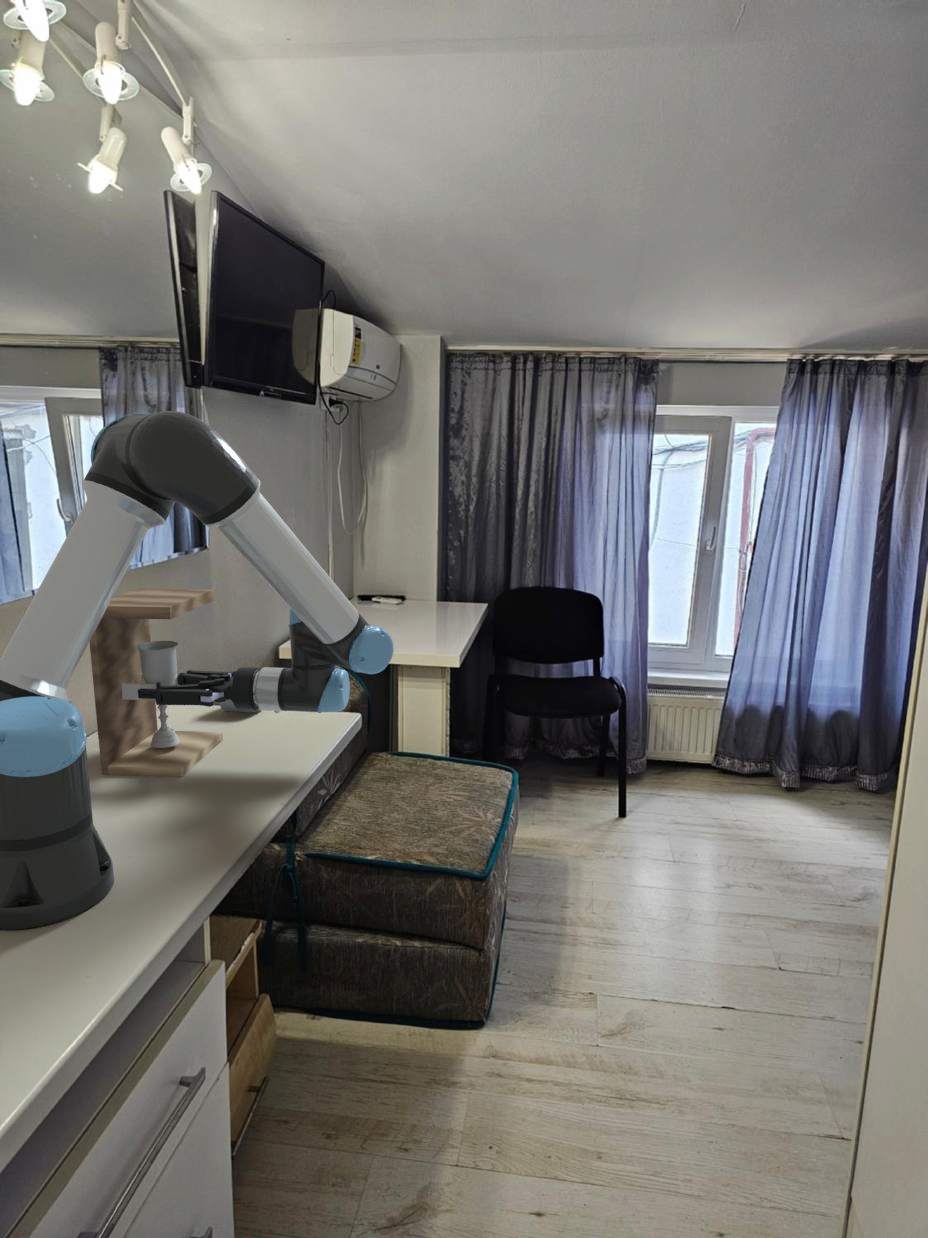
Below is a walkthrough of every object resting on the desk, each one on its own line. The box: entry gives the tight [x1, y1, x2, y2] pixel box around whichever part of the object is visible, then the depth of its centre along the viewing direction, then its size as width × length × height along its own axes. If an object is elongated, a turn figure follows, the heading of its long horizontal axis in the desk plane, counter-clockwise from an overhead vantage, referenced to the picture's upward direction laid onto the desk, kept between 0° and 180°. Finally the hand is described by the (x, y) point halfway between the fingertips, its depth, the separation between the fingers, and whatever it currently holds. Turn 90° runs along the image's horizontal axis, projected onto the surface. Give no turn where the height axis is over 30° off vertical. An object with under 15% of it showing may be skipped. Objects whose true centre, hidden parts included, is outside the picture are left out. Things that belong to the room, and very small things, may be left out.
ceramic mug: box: [218, 700, 261, 713], centre depth 164 cm, size 11×8×8 cm
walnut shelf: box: [89, 588, 224, 778], centre depth 135 cm, size 18×14×29 cm
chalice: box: [137, 640, 180, 748], centre depth 136 cm, size 7×7×18 cm
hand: (133, 685), depth 136 cm, fingers closed on chalice, 6 cm apart
